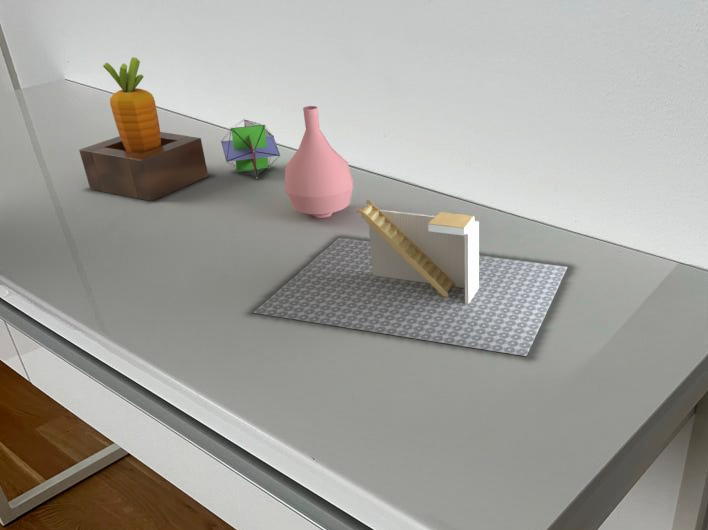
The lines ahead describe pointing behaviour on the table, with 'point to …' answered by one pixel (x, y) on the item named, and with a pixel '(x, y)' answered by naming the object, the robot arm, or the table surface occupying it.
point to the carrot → (134, 110)
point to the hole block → (144, 167)
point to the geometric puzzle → (250, 147)
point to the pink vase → (317, 173)
